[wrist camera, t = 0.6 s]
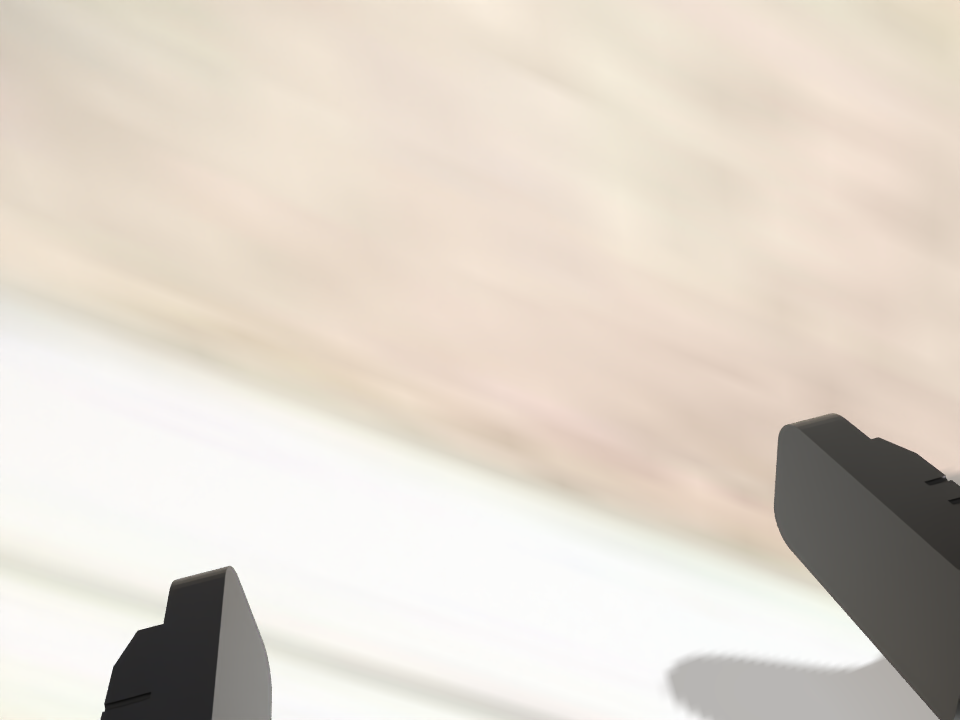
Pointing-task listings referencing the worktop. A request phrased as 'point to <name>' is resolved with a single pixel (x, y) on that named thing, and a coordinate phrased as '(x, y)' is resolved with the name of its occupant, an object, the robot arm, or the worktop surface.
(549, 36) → the worktop surface
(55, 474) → the worktop surface
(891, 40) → the worktop surface
